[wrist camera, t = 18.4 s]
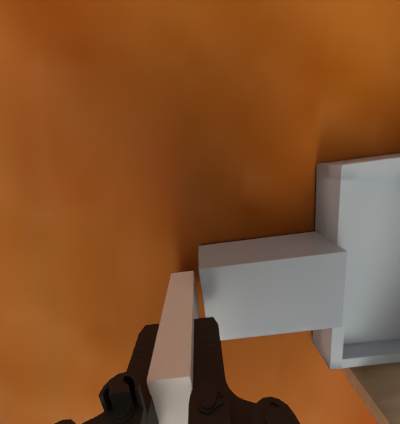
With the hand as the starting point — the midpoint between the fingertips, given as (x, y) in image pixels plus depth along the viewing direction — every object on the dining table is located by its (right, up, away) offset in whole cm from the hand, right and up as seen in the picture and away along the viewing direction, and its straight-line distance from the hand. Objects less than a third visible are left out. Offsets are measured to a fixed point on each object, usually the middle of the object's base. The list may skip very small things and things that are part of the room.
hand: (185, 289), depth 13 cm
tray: (+13, +2, +1) cm, 13 cm away
